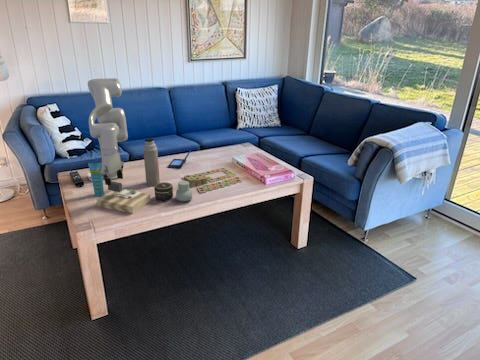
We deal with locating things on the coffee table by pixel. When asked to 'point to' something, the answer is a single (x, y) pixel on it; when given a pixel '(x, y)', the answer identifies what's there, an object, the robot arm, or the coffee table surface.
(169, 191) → the jar
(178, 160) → the handheld game console
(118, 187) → the peg
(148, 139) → the thermos bottle
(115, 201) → the tan flat box
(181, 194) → the pale green rounded vessel
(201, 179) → the pile of dominoes
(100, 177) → the tube
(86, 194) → the coffee table surface
